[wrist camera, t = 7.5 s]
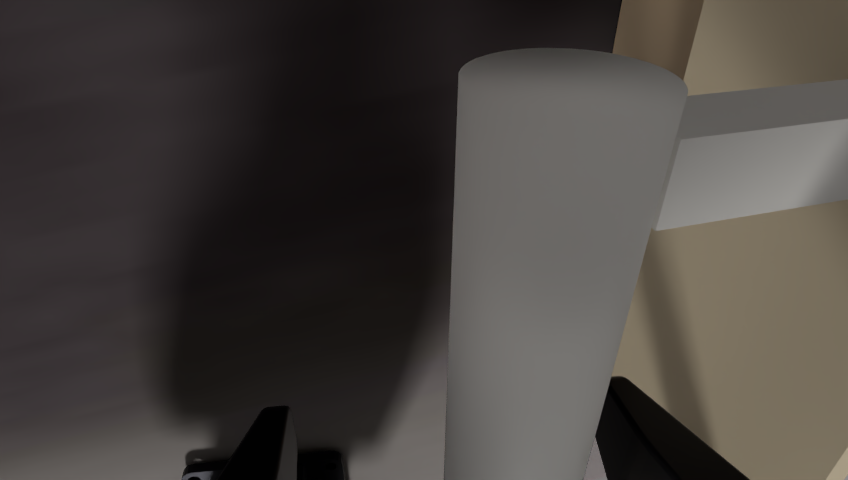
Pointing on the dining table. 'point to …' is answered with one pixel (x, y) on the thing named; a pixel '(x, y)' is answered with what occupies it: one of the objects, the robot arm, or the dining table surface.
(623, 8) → the carton
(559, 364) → the flap
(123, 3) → the dining table surface
